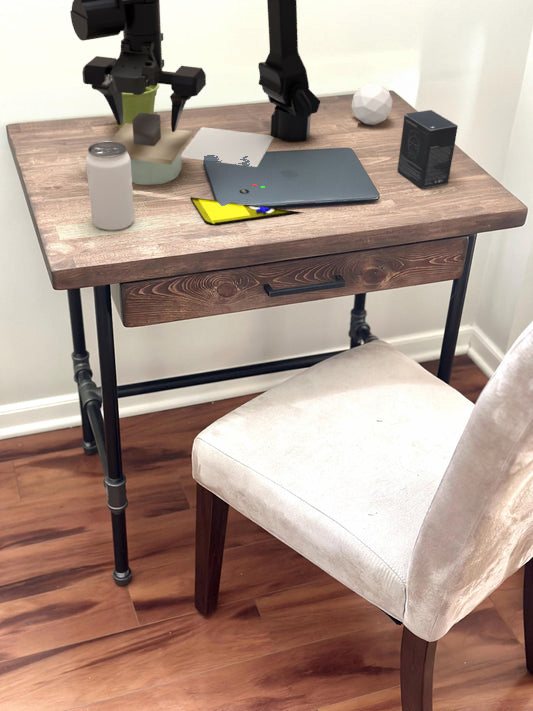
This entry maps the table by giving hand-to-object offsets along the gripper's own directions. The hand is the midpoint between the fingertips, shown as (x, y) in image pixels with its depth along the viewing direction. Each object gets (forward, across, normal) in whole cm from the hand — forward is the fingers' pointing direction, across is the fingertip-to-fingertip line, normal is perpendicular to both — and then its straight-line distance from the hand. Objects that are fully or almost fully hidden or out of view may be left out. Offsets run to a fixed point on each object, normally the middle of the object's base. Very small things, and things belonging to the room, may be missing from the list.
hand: (147, 127), depth 142 cm
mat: (+8, +10, +14) cm, 19 cm away
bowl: (+8, 0, 0) cm, 8 cm away
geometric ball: (+9, +33, +35) cm, 49 cm away
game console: (+9, +19, -5) cm, 22 cm away
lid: (+3, 0, 0) cm, 3 cm away
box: (+9, +45, +13) cm, 48 cm away
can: (+9, 0, -17) cm, 19 cm away
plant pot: (+9, -9, +18) cm, 22 cm away
